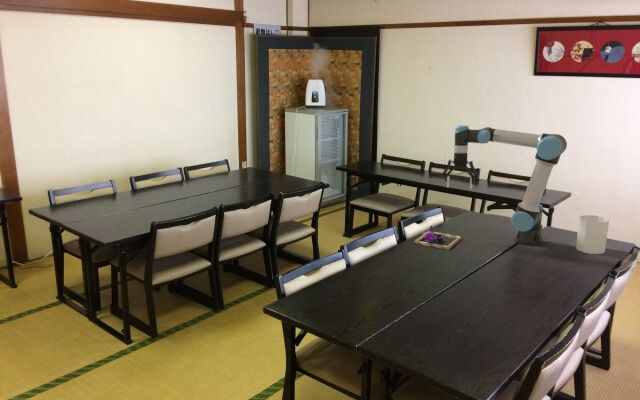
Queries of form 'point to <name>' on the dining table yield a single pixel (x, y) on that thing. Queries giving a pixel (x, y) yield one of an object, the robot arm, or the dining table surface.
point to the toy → (432, 236)
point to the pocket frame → (437, 244)
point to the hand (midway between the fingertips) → (459, 188)
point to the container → (592, 234)
